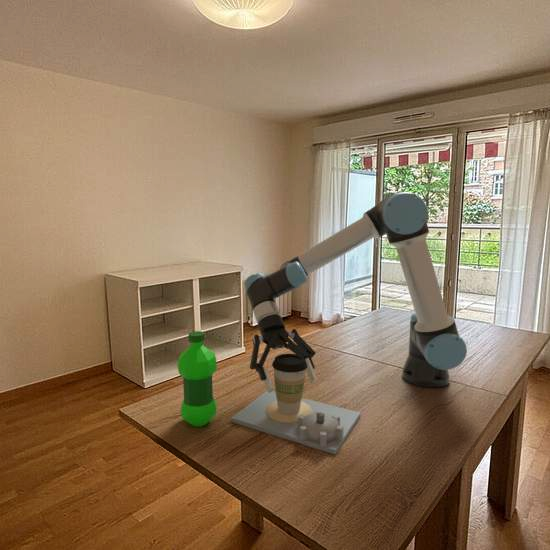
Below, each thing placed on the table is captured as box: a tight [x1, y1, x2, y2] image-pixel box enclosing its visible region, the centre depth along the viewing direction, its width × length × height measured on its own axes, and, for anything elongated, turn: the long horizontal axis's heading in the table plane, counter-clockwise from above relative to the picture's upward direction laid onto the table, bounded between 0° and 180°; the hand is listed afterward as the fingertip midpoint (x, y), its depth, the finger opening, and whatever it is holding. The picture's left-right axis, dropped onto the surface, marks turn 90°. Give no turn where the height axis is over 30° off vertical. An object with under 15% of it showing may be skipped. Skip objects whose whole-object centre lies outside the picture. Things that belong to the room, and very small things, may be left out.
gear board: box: [231, 390, 362, 455], centre depth 107 cm, size 30×20×6 cm
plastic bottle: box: [177, 330, 218, 427], centre depth 104 cm, size 10×10×25 cm
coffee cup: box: [271, 353, 308, 415], centre depth 108 cm, size 10×10×15 cm
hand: (293, 386), depth 106 cm, fingers open, 13 cm apart
